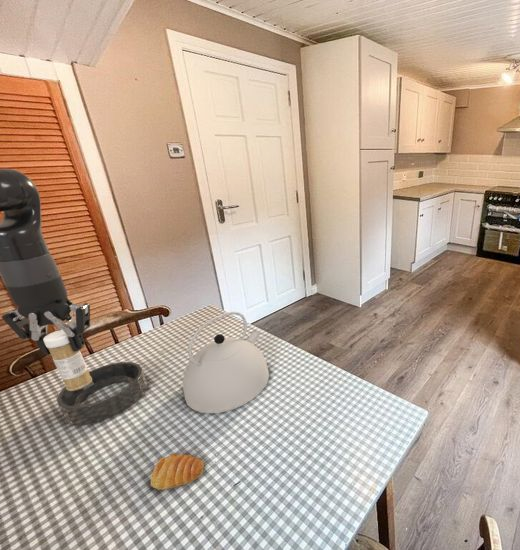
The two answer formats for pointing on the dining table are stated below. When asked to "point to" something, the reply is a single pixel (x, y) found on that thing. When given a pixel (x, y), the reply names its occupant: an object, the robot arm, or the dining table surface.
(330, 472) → the dining table surface
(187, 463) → the pastry
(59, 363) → the sprinkles bottle
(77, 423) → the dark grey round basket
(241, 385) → the kettle
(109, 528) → the dining table surface
